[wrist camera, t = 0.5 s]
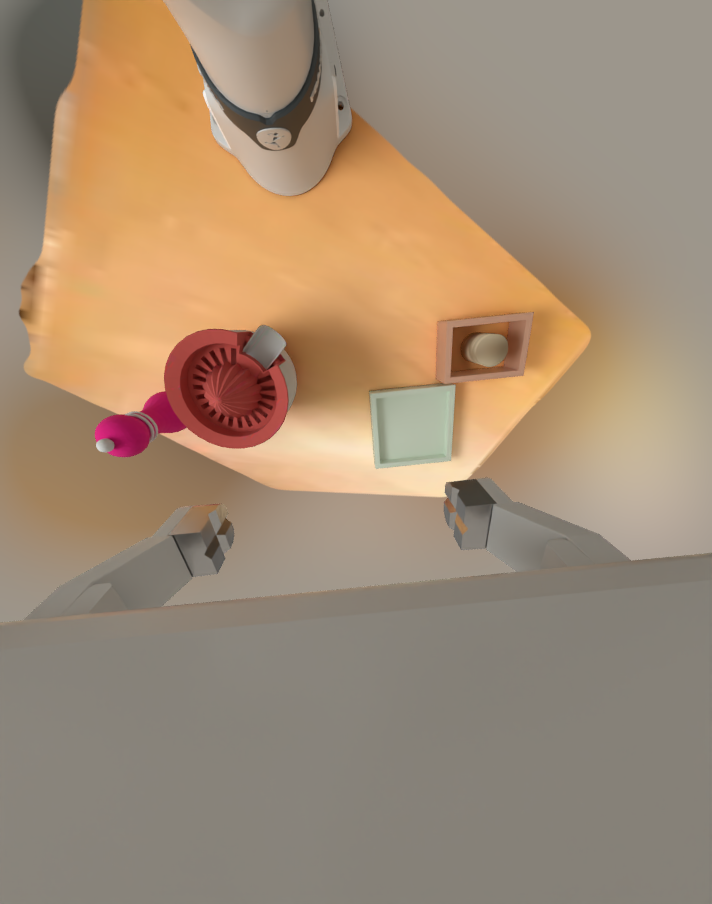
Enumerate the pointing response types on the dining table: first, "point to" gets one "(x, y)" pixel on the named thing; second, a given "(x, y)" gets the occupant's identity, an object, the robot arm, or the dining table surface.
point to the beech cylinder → (484, 348)
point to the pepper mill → (137, 427)
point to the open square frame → (512, 367)
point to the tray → (412, 424)
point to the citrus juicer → (231, 385)
